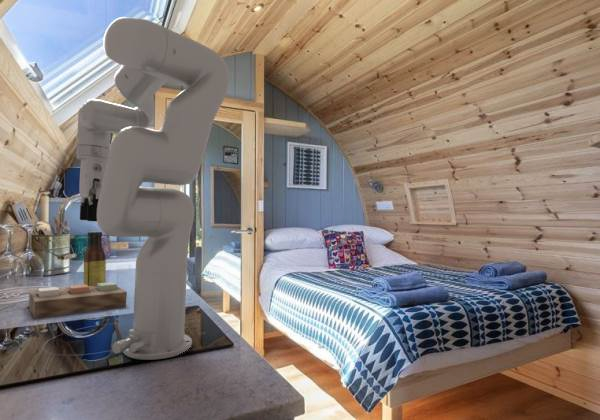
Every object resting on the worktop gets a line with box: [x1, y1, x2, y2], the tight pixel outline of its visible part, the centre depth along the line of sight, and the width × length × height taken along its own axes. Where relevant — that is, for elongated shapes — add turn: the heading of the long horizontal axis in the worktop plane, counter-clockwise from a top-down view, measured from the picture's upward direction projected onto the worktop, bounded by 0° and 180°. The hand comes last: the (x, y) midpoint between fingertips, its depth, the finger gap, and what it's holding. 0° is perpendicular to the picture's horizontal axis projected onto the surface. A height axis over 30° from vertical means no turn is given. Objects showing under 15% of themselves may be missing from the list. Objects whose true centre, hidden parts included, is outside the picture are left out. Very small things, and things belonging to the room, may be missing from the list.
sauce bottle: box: [83, 231, 107, 286], centre depth 117 cm, size 6×6×20 cm
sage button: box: [97, 281, 118, 291], centre depth 105 cm, size 4×4×3 cm
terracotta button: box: [68, 283, 89, 294], centre depth 100 cm, size 4×4×3 cm
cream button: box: [37, 286, 60, 298], centre depth 96 cm, size 4×4×3 cm
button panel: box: [28, 285, 128, 319], centre depth 100 cm, size 21×14×4 cm, turn 131°
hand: (90, 220), depth 94 cm, fingers open, 8 cm apart
